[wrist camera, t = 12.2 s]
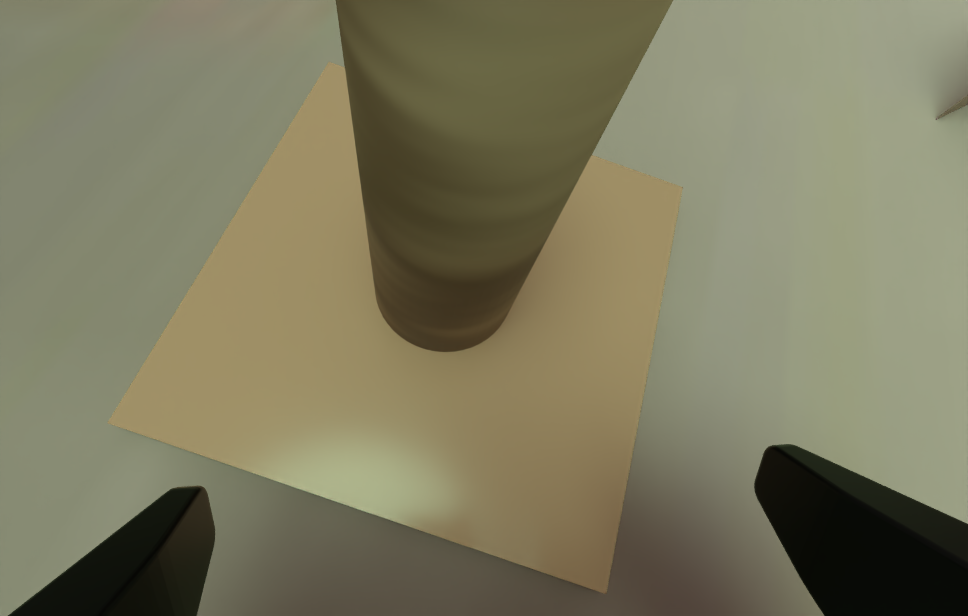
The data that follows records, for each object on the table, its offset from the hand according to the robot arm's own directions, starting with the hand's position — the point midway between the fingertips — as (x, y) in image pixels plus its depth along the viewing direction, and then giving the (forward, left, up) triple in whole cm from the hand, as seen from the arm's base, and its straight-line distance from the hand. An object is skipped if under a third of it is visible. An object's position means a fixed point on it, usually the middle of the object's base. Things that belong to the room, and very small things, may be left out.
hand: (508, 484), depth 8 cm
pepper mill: (+3, -7, -9) cm, 11 cm away
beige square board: (+3, -7, -9) cm, 12 cm away
